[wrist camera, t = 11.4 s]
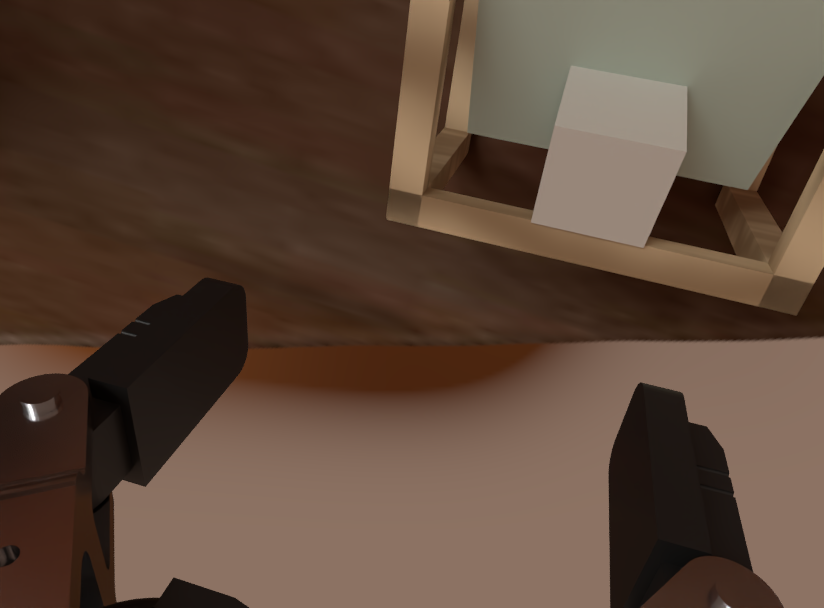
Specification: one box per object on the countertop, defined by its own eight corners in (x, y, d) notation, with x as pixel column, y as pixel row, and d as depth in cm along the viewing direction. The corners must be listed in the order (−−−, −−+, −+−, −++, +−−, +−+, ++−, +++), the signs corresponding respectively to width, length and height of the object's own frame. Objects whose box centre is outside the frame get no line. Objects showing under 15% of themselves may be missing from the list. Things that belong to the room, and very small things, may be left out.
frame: (490, -147, 32) (432, -196, 21) (879, -98, 29) (1039, -126, 18) (444, 147, 40) (386, 219, 30) (742, 210, 37) (796, 315, 27)
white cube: (570, 65, 27) (554, 125, 24) (687, 86, 26) (686, 152, 23) (547, 159, 31) (530, 222, 28) (648, 180, 30) (643, 248, 27)
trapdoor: (484, -125, 23) (477, -113, 22) (918, -67, 20) (922, -52, 20) (464, 118, 32) (459, 131, 32) (756, 177, 30) (756, 191, 30)
